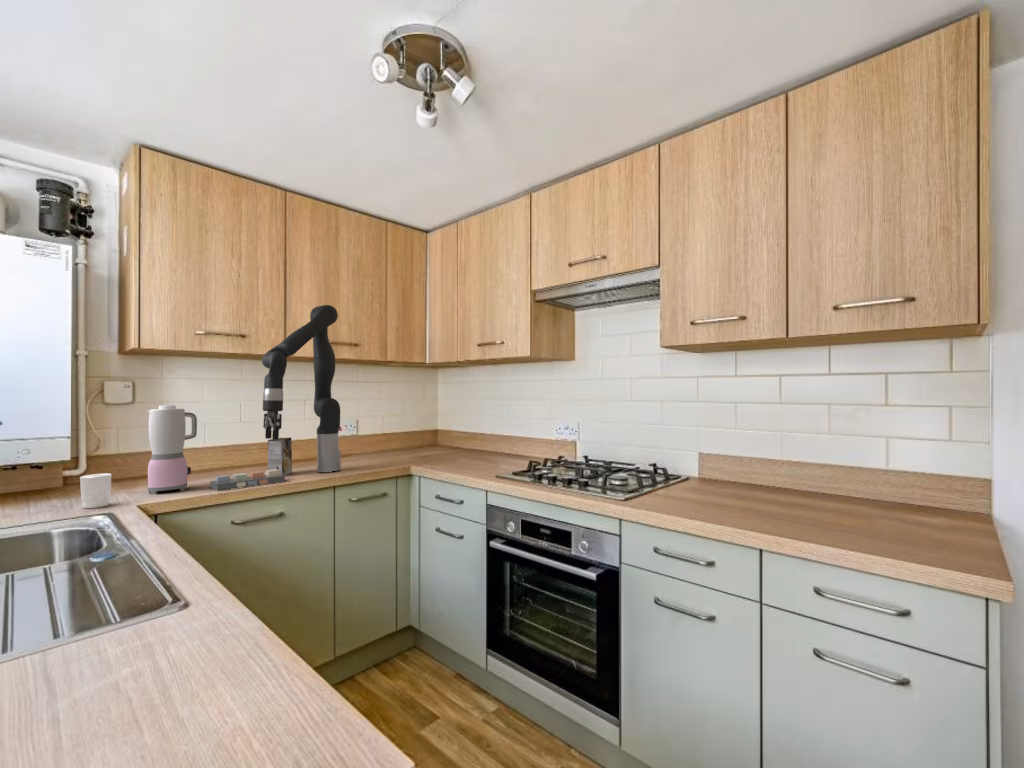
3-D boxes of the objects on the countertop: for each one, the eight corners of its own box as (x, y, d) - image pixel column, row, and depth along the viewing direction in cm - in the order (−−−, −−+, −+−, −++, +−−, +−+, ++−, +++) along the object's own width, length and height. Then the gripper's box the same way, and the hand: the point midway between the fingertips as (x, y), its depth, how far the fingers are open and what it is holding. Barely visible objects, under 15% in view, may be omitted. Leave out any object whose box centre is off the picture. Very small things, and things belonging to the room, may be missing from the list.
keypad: (276, 479, 205) (275, 473, 205) (284, 481, 198) (284, 475, 198) (210, 487, 189) (210, 481, 189) (217, 491, 181) (217, 484, 181)
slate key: (227, 482, 190) (226, 475, 190) (230, 484, 187) (229, 476, 187) (215, 484, 187) (215, 476, 187) (218, 485, 184) (218, 477, 184)
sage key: (244, 480, 194) (244, 473, 194) (247, 481, 191) (247, 474, 191) (232, 482, 191) (232, 474, 192) (235, 483, 189) (235, 475, 189)
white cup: (79, 506, 160) (79, 475, 161) (110, 502, 166) (110, 472, 166) (81, 510, 155) (80, 478, 155) (113, 505, 160) (112, 475, 160)
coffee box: (278, 473, 220) (277, 437, 221) (292, 473, 220) (292, 437, 221) (267, 477, 211) (267, 439, 211) (282, 476, 211) (282, 439, 211)
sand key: (276, 476, 203) (275, 469, 203) (279, 477, 200) (279, 470, 200) (265, 477, 200) (265, 470, 200) (269, 478, 197) (268, 471, 197)
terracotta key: (260, 478, 198) (260, 471, 198) (263, 479, 196) (263, 472, 196) (249, 479, 196) (249, 472, 196) (252, 481, 193) (252, 473, 193)
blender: (149, 495, 175) (148, 406, 176) (144, 491, 184) (144, 406, 185) (201, 489, 186) (200, 404, 186) (194, 485, 195) (193, 404, 195)
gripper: (288, 399, 201) (287, 439, 200) (276, 399, 211) (275, 437, 210) (269, 399, 196) (267, 440, 195) (257, 399, 206) (256, 438, 205)
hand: (271, 438), depth 203 cm, fingers open, 8 cm apart
